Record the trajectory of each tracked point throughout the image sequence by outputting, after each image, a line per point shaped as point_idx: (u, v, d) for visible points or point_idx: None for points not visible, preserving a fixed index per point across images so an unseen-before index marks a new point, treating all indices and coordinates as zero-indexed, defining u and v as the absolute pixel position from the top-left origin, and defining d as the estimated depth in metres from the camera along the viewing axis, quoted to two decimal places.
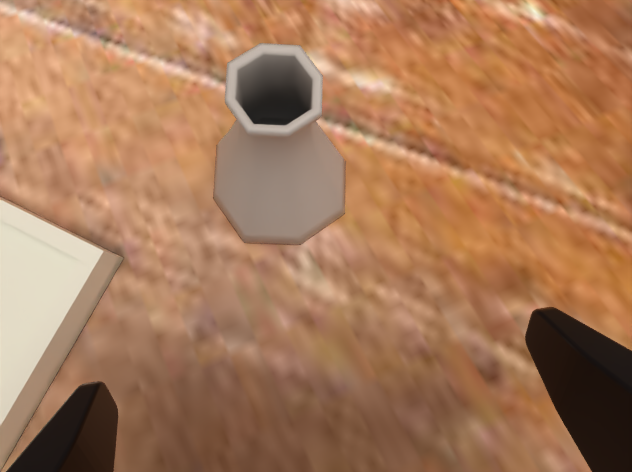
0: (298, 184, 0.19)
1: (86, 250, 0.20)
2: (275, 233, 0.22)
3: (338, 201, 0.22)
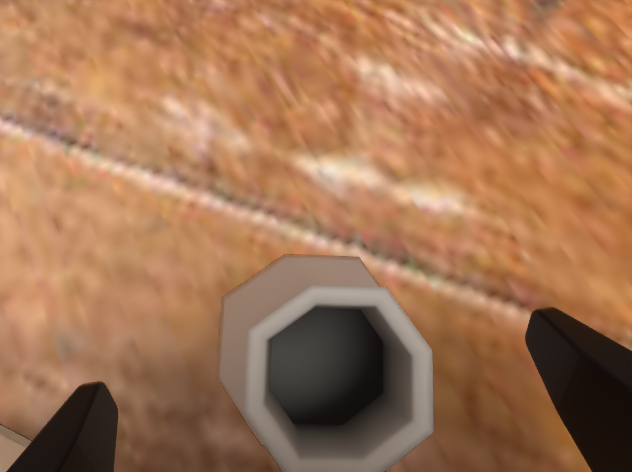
0: None
1: None
2: None
3: None
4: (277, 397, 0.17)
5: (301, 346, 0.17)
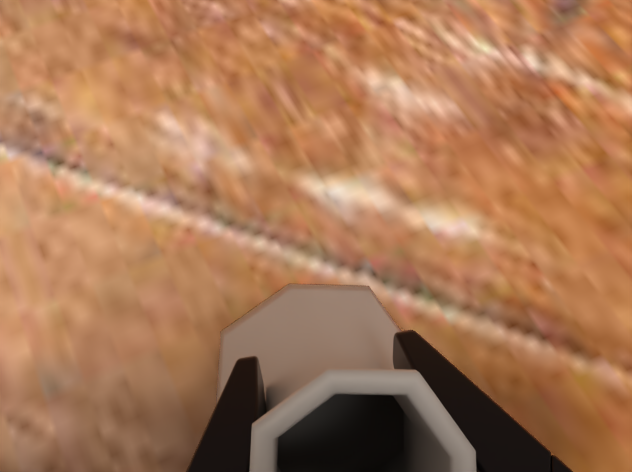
0: None
1: None
2: None
3: None
4: (281, 440, 0.15)
5: None
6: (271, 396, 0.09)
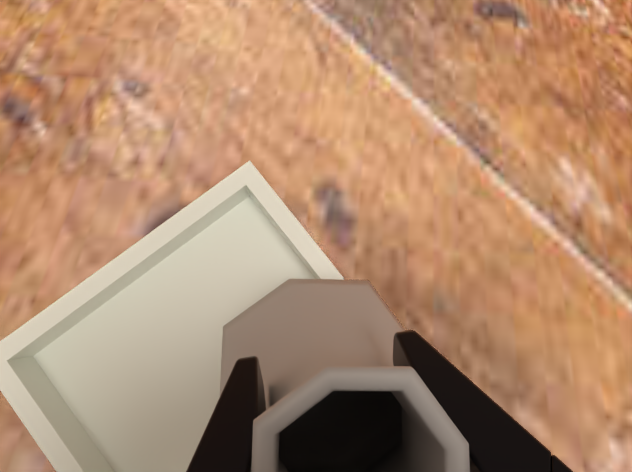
0: None
1: None
2: None
3: None
4: (283, 432, 0.16)
5: None
6: (272, 391, 0.09)
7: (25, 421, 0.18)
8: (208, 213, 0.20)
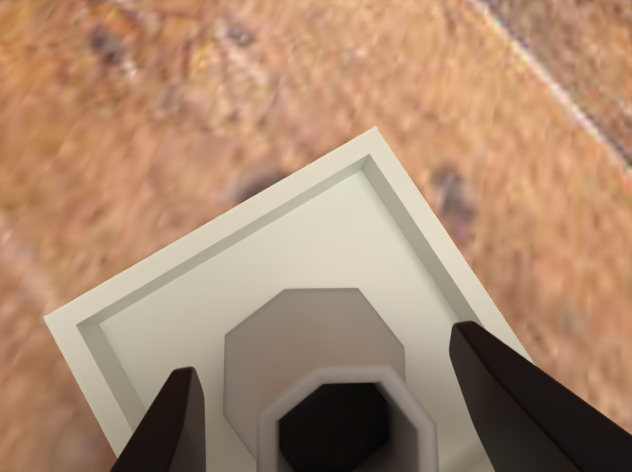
0: None
1: None
2: None
3: None
4: (283, 431, 0.17)
5: None
6: (272, 389, 0.10)
7: (90, 399, 0.15)
8: (322, 181, 0.17)
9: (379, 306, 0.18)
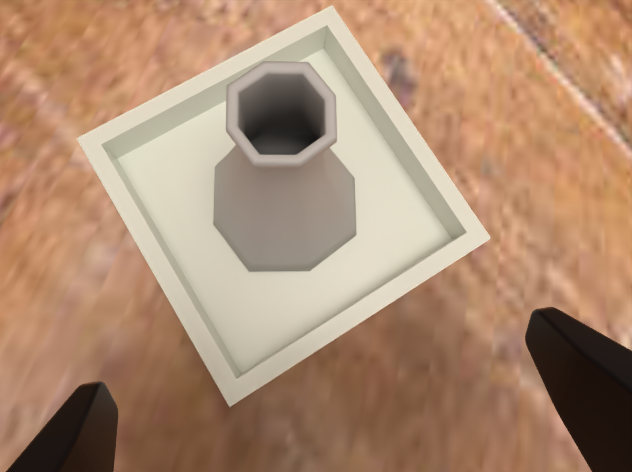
0: (308, 211, 0.17)
1: (476, 229, 0.21)
2: (282, 261, 0.20)
3: (350, 224, 0.20)
4: None
5: None
6: None
7: (112, 197, 0.20)
8: (290, 46, 0.22)
9: (336, 150, 0.23)
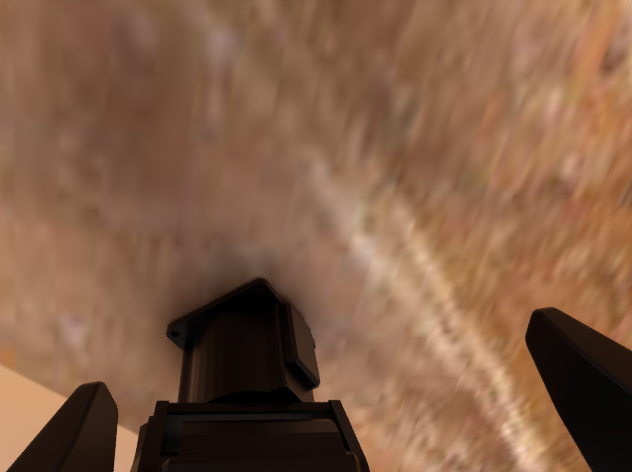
0: None
1: None
2: None
3: None
4: None
5: None
6: None
7: None
8: None
9: None
